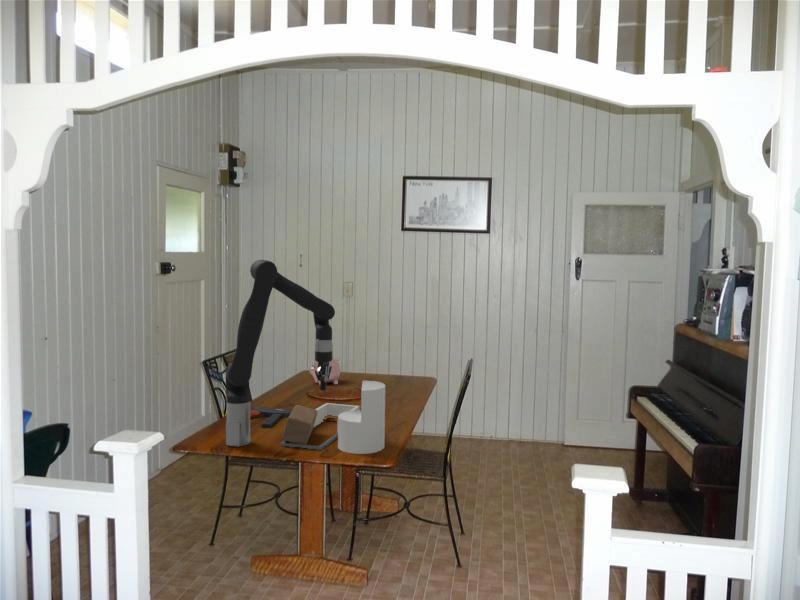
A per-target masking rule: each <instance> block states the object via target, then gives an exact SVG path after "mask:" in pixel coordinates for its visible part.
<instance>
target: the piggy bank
mask: <svg viewBox="0 0 800 600" xmlns="http://www.w3.org/2000/svg"><path fill="white" fill-rule="evenodd" d="M339 359H340V358H339V357H337V360H336V359H335V358H334V357H333V359H332V361H330V362H329V366H332V369H331V372H330V376H329V379H327V381H326V384H330V383H331V384H332V385H339V381H338V380H339V377H340V374H341V365H340V364H339V363H340V362H339ZM315 370H318V362H317V361H314V363H313V364H312V365H311V367H309V373H310V374H311V375H312V377H313V379H314V383H316V384H319V386H320V381H318V379H317V376H316V374H315Z"/></svg>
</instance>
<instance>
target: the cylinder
mask: <svg viewBox="0 0 800 600" xmlns="http://www.w3.org/2000/svg"><path fill="white" fill-rule="evenodd" d="M361 381H362V382H361V383H362V384H361V389H360V390H361V400H360V401H361V403H360V404H361V405H360V408H361V409H359V410H354V411H347V412H343V413H341V414H339V416H338V438H337V448H338V450H339V451H341V452H344V453H346V454H347V453H348V454H355V455H356V454H357V455H366V454H367V455H368V454H373V453H375V454H376V453H378V451H379V452H381V451H383V450H384V449H385V438H386V437H385V433H386V432H385V431H386V430H385V429H386V428H385V424H386V384H385V383H383V382H380V381H375V380H361ZM382 449H383V450H382Z"/></svg>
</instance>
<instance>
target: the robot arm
mask: <svg viewBox="0 0 800 600" xmlns="http://www.w3.org/2000/svg"><path fill="white" fill-rule="evenodd" d="M249 271H250V275H251V277H252V278H253V280H254V281H253V287H252V290H251V294H250V296H249V299H248V300H247V302H246V304H245V305H244V308H243V309H242V312H241V315H240V319H239V322H238V329H237V337H236V349H235V353H234V357H233V360H232V362H230V363H229V364H228V365H227V367H226V368H225V369H226V370H225V394H226V422H225V446H231V447H239V448H240V447H243V446H247V445H249V444H251V419H250V410H251V391H250V379H251V377H252V371H253V364H254V358H255V354H256V350H257V347H258V344H259V340H260V337H261V335H262V331H263V327H264V323H265V318H266V314H267V309H268V305H269V300H270V297H271V293H272V291H273V289H275V290H276V291H278V292H279V293H280V294H282V295H284V296H285V297H287V298H288V299H290V300H291V301H293V302H294V303H295V304H297V305H298V306H300V307H301V308H303V309H305V310H307V311H309V312H312V313H313V322H314V328H315V342H314V360H315V361H317V362H318V370H315V374H316V376H317V379H318V381H320V385H319V387H320V391H326V390H327V383H326V381H327V379H329V376H330V372H331V369H332V366H329V362H330V361H332V359H333V358H334V357H333V350H334V348H333V347H334V346H333V345H334V344H333V328H332V326H331V325H330V321H331V320H332V319H333V318H334V317H335V315H336V314H335V313H336V311H335V308H334V306H333V305H332V304H330V303H329V302H327V301H325V300H323V299H321V298H319V297H318V296H316V295H315V294H314V293H312V292H311V291H310V290H308V289H306V288H305V287H304V286H301V285H299V284H298V283H296V282H293V281H292V280H291V279H289V278H287V277H286V276H284V275H282V274H281V273H279V272H278V267H277V266H276V264H275V263H274V262H272V261H270V260H266V259H258V260H255V261H254V262H253V263H252V264H251V266H250V269H249ZM315 361H314V362H315Z"/></svg>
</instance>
